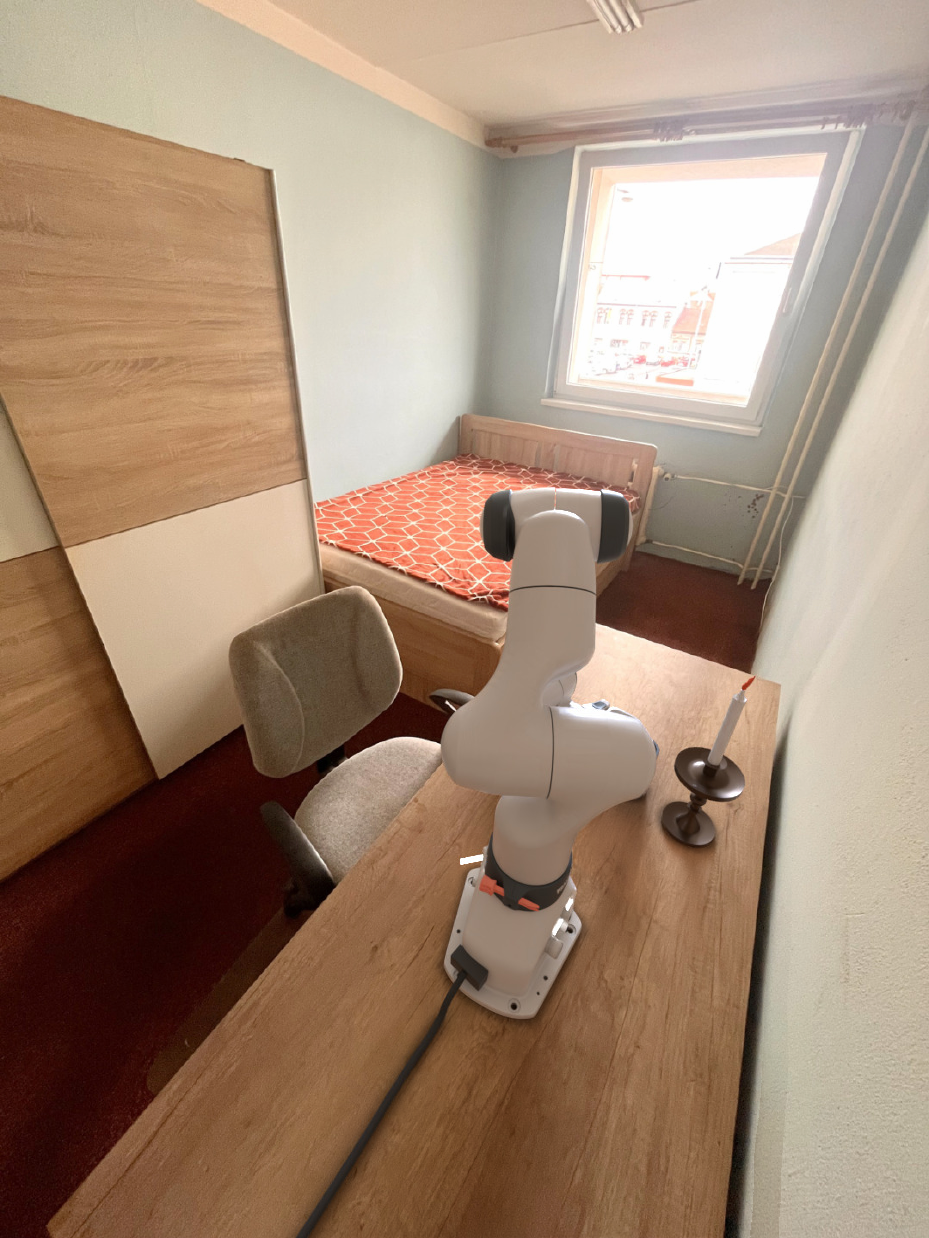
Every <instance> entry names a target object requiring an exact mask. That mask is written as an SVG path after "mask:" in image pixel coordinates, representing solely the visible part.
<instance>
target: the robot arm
mask: <svg viewBox="0 0 929 1238" xmlns="http://www.w3.org/2000/svg"><path fill="white" fill-rule="evenodd" d="M633 530H634V519H633V514H632V512H631V508H630V504H629V501H628V500H627V499H626V497H625V496H624V495H623V494H622V493H620V492H617V491H612V490H608V489H607V490H606V489H600V490H599V491H595V490H587V489H577V488H575V489H574V488H556V487H538V488H537V487H536V488H526V489H520V490H519V489H518V490H513V489H512V488H510V489H505V490H499V491H496V492H493V493H491V495H490V496H489V497H488V498H487V499H486V500H485V502H484V507H483V509H482V511H481V514H480V519H479V534H480V538H481V541H482V543H483V547H484V550H485V551H486V553H488V554H489V555H490V556H491V557H492V558H493V559H496V560H500V561H503V562H506V563H510V562H511V567H510V576H509V585H508V603H507V615H506V617H507V618H506V627H505V636H504V642H503V648H502V652H501V656H500V659H499V661H498V664H497V667H496V668H495V670H494V672H493V674H492V676H491V677H490V679H489V680H488V682H487V683H486V684H485V685H484V687H483V688H482V689H481V690H480V691H479V692H478V693H477V694H476V695H475V696H474V697H472V698H471V699H470V700H469V701H467V702H466V703H464V704H462V705H461V706H460V707H459V708H458V709H456V710H455V711H454V712H453V713H452V715H451V716H450V717H449V718H448V721H447V722H446V723H445V726H444V728H443V731H442V734H441V739H440V757H441V761H442V763H443V764H442V765H443V767H444V770H445V771H446V774H447V775H448V777H449V778H450V779H451V781H452V782H453V783H454V784H455V785H456V786H459V787H462V788H465V789H469V790H472V791H474V792H475V791H476V792H479V793H483V794H486V795H493V796H501V797H500V798H499V799H498V802H497V803H496V807H495V810H494V820H493V830H492V832H491V834H490V838H489V840H488V844H486V846H483V848H482V854H478V855H474V856H468V857H465V858H464V857H463V858H460V863H459V864H460V865H464V864H465V865H466V864H469V863H475V862H480V861H481V863H480V867H476V868H472V869H470V870H469V871H468V873H467V875H466V879H465V883H464V886H463V890H462V894H461V896H460V897H461V898H460V900H459V904H458V908H457V912H456V916H455V919H454V923H453V926H452V930H451V933H450V937H449V940H448V944H447V947H446V952H445V955H444V959H443V969H444V971H445V974H446V975H447V976H448V978H449V979H450V981H451V983H453V984H452V985H451V986H450V988H449V990H448V991H447V994H446V995H445V997H444V999H443V1001H442V1003H441V1006H440V1008H439V1011H438V1013H437V1015H436V1017H435V1019H434V1021H433V1022H432V1025H431V1026H430V1028H429V1029H428V1030H427V1033H426V1034H425V1035H424V1037H423V1039H422V1040H421V1041H420V1043H419V1045H418V1046H417V1047H416V1049H415V1050H414V1052H413V1054H412V1055H411V1056H410V1057H409V1059H408V1061H407V1062H406V1063H405V1065H404V1066H403V1068H402V1069H401V1071H400V1073H399V1074H398V1076H397V1078H396V1079H395V1080H394V1082H393V1084H392V1085H391V1087H390V1089H389V1090H388V1092H387V1094H386V1095H385V1097H384V1098H383V1100H382V1102H381V1103H380V1105H379V1106H378V1108H377V1110H376V1111H375V1113H374V1114H373V1116H372V1118H371V1120H370V1122H369V1123H368V1124H367V1126H366V1128H365V1129H364V1131H363V1132H362V1134H361V1135H360V1137H359V1138H358V1140H357V1142H356V1144H355V1145H354V1147H353V1148H352V1150H351V1151H350V1153H349V1154H348V1156H347V1158H346V1159H345V1161H344V1162H343V1164H342V1166H341V1167H340V1169H339V1170H338V1172H337V1174H336V1175H335V1177H334V1178H333V1180H332V1182H331V1183H330V1184H329V1186H328V1188H327V1189H326V1190H325V1192H324V1194H323V1195H322V1197H321V1199H320V1200H319V1201H318V1203H317V1204H316V1206H315V1208H314V1209H313V1211H312V1212H311V1214H310V1215H309V1217H308V1218H307V1220H306V1221H305V1223H304V1224H303V1226H302V1227H301V1229H300V1230H299V1231H298V1233H297V1235H296V1236H295V1238H309V1237H310V1235H311V1233H312V1232H313V1230H314V1229H315V1227H316V1226H317V1225H318V1222H319V1221H320V1219H322V1218H321V1217H323V1215H324V1213H325V1212H326V1210H327V1208H328V1207H329V1205H330V1203H332V1201H333V1199H334V1198H335V1196H336V1194H337V1193H338V1191H339V1189H340V1188H341V1186H342V1185H343V1183H344V1181H345V1180H346V1178H347V1177H348V1176H349V1173H350V1172H351V1170H352V1169H353V1168H354V1166H355V1165H356V1162H357V1161H358V1159H359V1157H360V1156H361V1154H362V1153H363V1151H364V1149H365V1148H366V1146H367V1145H368V1143H369V1141H370V1140H371V1138H372V1137H373V1135H374V1133H375V1131H376V1130H377V1128H378V1127H379V1125H380V1123H381V1122H382V1120H383V1118H384V1117H385V1115H386V1113H387V1111H388V1110H389V1108H390V1107H391V1105H392V1103H393V1101H394V1100H395V1098H396V1096H397V1095H398V1093H399V1091H400V1090H401V1088H402V1087H403V1086H404V1083H405V1082H406V1081H407V1079H408V1077H409V1075H410V1074H411V1072H412V1070H413V1069H414V1067H415V1066H416V1065H417V1063H418V1062H419V1060H420V1059H421V1058H422V1056H423V1054H424V1053H425V1051H426V1050H427V1048H428V1047H429V1046H430V1045H431V1042H432V1041H433V1039H434V1038H435V1036H436V1034H437V1033H438V1031H439V1029H440V1027H441V1025H442V1023H443V1022H444V1020H445V1017H446V1015H447V1012H448V1010H449V1007H450V1005H451V1003H452V1002H453V999H454V998H455V996H456V994H457V992H458V991H460V992H461V993H462V994H464V995H465V996H467V998H469V999H470V1000H472V1001H473V1002H475V1003H477V1004H478V1005H480V1006H481V1007H483V1008H485V1009H487V1010H489V1011H490V1012H493V1013H495V1014H497V1015H500V1016H503V1017H506V1018H510V1019H515V1020H528V1019H533V1018H534V1017H536V1015H537V1014H538V1013H539V1010H540V1008H541V1007H542V1005H543V1003H544V1001H545V999H546V997H547V996H548V994H549V992H550V990H551V988H552V987H553V984H554V983H555V981H556V980H557V978H558V975H559V973H560V971H561V969H562V968H563V966H564V964H565V962H566V960H567V959H568V956H569V955H570V953H571V951H572V949H573V948H574V946H575V944H576V941H577V940H578V938H579V936H580V934H581V933H582V927H583V926H582V925H583V924H582V922H581V919H580V918H579V916H578V914H577V913H576V912H575V910H574V906H575V900H576V896H577V892H578V889H577V887H576V885H575V883H574V881H573V879H572V876H571V873H572V868H573V849H574V845H575V842H576V840H577V837H578V835H579V833H580V832H581V830H583V829H584V828H585V827H586V826H587V825H588V824H589V823H590V822H592V821H593V820H594V819H596V818H598V816H599V815H601V814H603V813H605V812H606V811H608V810H609V809H612V808H613V807H616V806H619V805H620V804H623V803H625V802H630V801H632V799H636V798H639V797H640V796H641V795H642V794H643V793H644V792H645V791H646V790H647V791H648V789H649V788H650V786H651V784H652V782H653V779H654V778H655V774H656V769H657V761H658V758H657V759H656V750H655V746H654V743H653V740H654V739H653V738H652V735H651V734H650V732H649V731H648V729H647V727H645V725H644V723H643V722H642V720H640V719H639V718H638V717H636V716H635V715H634V714H633V715H632V714H631V713H629V712H627V711H625V710H624V709H622V708H620V707H616V706H611V704H610V702H609V701H607V700H605V699H599V700H596V701H594V702H590V703H585V704H580V703H578V702H575V701H574V700H573V699H572V697H573V695H574V693H575V691H576V688H577V683H578V673H577V672H580V671H581V670H583V669H584V668H585V667H587V666H588V664H589V663H590V662H591V661H592V658H593V657H594V654H595V650H596V623H597V620H596V619H597V574H596V573H597V572H596V570H597V569H596V564H597V565H600V564H601V565H602V564H607V563H611V562H615V561H617V560H618V559H620V558H621V557H622V556H623V555H624V554H625V553H626V551H627V548H628V546H629V544H630V541H631V538H632V536H633ZM652 739H653V740H652ZM647 791H646V792H647ZM636 800H637V799H636ZM569 931H571V933H570V932H569ZM512 1006H515V1007H516V1009H513V1008H512Z"/></svg>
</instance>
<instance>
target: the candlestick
mask: <svg viewBox="0 0 929 1238" xmlns="http://www.w3.org/2000/svg"><path fill="white" fill-rule="evenodd" d="M755 679H756V675H753V677H749V678H748V680H747V681H746V682H744V683H743V684H742V685H741V689H740V691H739V692H738V693H734V694H733V696H732V698H731V700H730V702H729V705H728V708H727V710H726V712H725V715H724V717H723V720H722V721H721V725H720V728H719V729H718V732H717V735H716V737H715V740H714V742H713V744H712V747H711V748H708V747H702V746H692V747H691V746H690V747H687V748H684V749H681V750H680V751H679V752H678V754H677V755H676V756H675V760H674V762H673V763H674V764H673V770H674V773H675V776H676V778H677V779H678V781H679V782H680V783H681V784H682V785H683V787H684V788H685V789H687V790H688V791H689V792H690V794H689V799H690V801H688V802H687V801H678V800H677V801H673V802H670V803H668V804H666V805H665V806H664V807H663V809H662V812H661V814H660V815H661V816H660V820H661V825H662V828H663V829H664V831H665V833H666V834H667V835H668V836H669V837H670V838H671V839H672V840H674V841H676V842H677V843H679V844H680V845H682V846H684V847H686V848H687V847H688V848H691V849H692V848H693V849H701V848H705V847H708V846H709V845H710V844H711V843H712V842H713V840H714V838H715V836H716V828H715V827H716V826H715V824H714V822H713V820H712V819H711V817H710V816H709V815H708V813H706V812H705V811H704V810H703V808H702V807H703V806H705V805H707V802H708V801H711V802H714V803H715V802H716V803H728V802H729V803H730V802H732V801H735V800H736V799H738V798H739V797H740V796H741V795H742V794H743V791H744V789H745V786H746V779H745V776H744V773H743V771H742V770H741V769H740V767H739V766H738V765H737V764H736V763H735V762H734V761H733V760H732V759H731V758H729V757H728V756H727V755H725V752H726V750H727V748H728V745H729V743H730V741H731V738H732V736H733V734H734V732H735V729H736V727H737V725H738V722H739V719H740V717H741V715H742V712H743V710H744V708H745V705H746V704H747V701H748V699H747V697H746V695H745V693H746V690H747V689H748V688H749V687H750V686H751V684H753V682H754V681H755Z"/></svg>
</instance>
